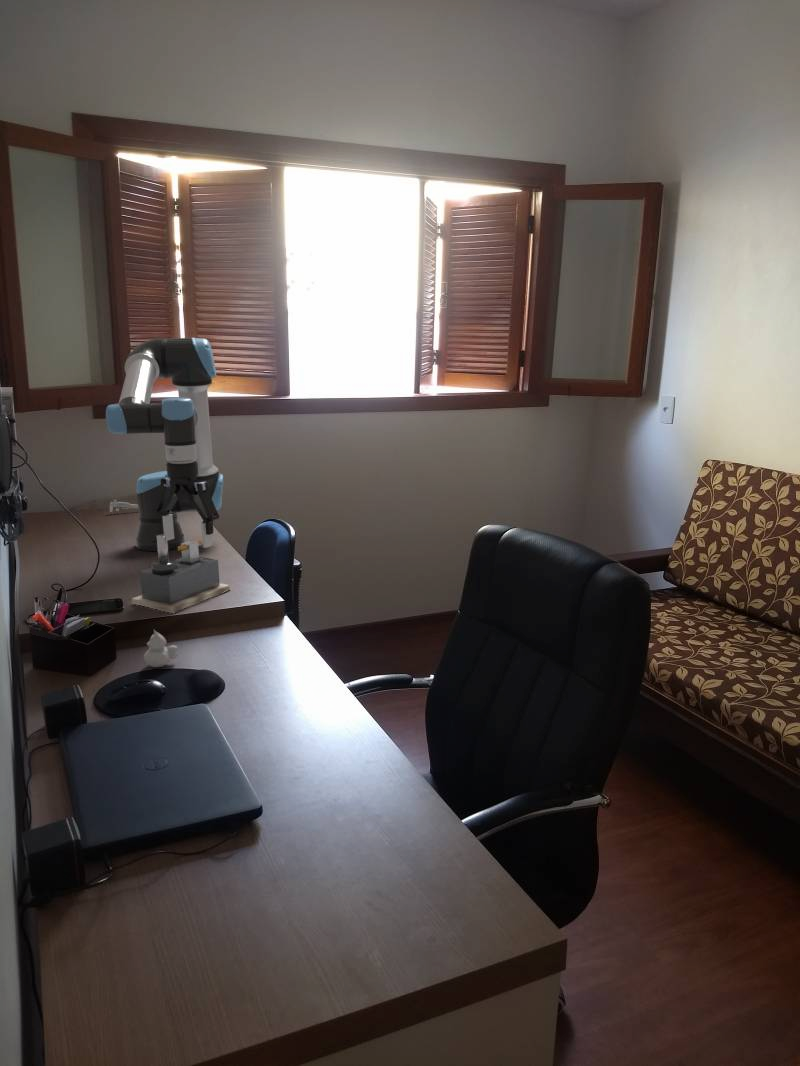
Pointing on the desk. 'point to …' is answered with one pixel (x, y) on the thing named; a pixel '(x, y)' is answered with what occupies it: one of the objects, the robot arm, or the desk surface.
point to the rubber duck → (159, 651)
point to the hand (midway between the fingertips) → (188, 543)
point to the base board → (182, 603)
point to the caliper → (121, 505)
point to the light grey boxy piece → (190, 552)
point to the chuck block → (177, 577)
